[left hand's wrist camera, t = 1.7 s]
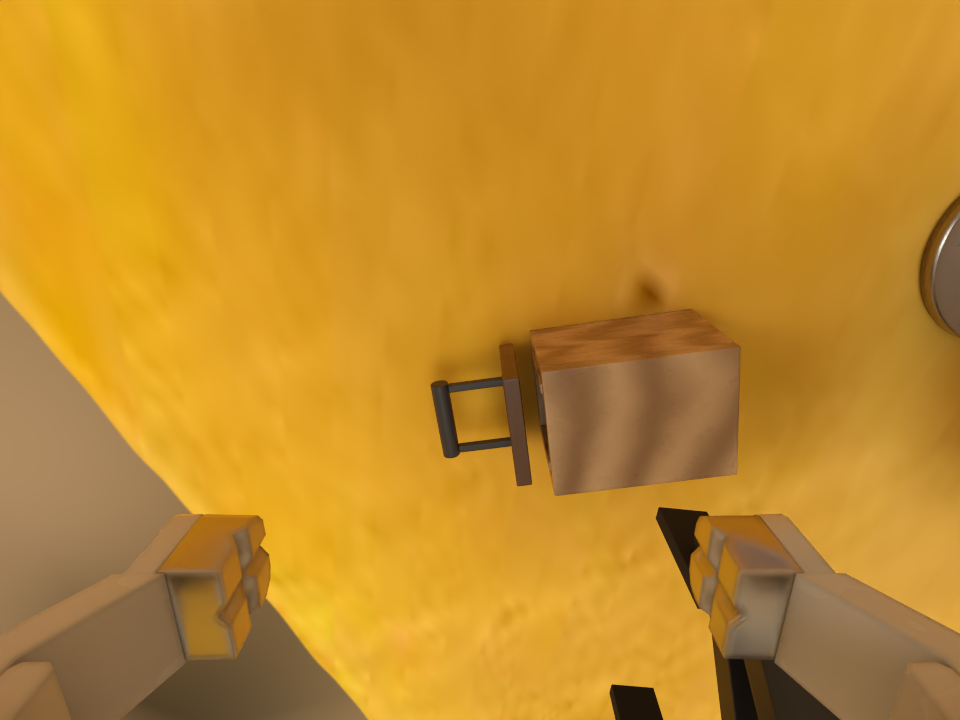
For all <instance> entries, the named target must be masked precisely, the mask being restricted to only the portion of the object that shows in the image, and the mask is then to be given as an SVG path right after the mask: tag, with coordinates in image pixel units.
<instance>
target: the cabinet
mask: <svg viewBox="0 0 960 720" xmlns="http://www.w3.org/2000/svg"><path fill="white" fill-rule="evenodd" d="M530 337H531V346H532V352H534V354H535V358H536V362H537V365H538V369H539V373H540V377H541V382H542V391H543V400H544V409H545V418H546V427H547V436H548V445H549V455H550V464H551V471H550V470H549V472H550V476H551V481H552V485H553V490H554V495H555V496H559V495H567V494H576V493H584V492H592V491H601V490H609V489H618V488H626V487H634V486H643V485H651V484H660V483H668V482H676V481H685V480H693V479H702V478H710V477H718V476H727V475H735V474H737V452H738V416H739V380H740V346H739V345H737V344H736V343H734V341H732V340H731V339H730V338H728V337H727V336H726V335H724V334H723V333H722V332H720V331H719V330H718V329H717V328H715V327H714V326H713V325H711V324H710V323H709V322H707V321H706V320H705V319H703V318H702V317H701V316H700V315H698V314H697V313H696V312H694V311H693V310H692V309H689V310H682V311H674V312H667V313H659V314H652V315H644V316H637V317H629V318H622V319H615V320H607V321H600V322H592V323H585V324H577V325H570V326H562V327H555V328H547V329H540V330H532V331H530ZM543 444H544V443H543ZM545 453H546V452H545ZM546 458H547V457H546ZM548 467H549V466H548Z"/></svg>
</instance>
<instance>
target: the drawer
mask: <svg viewBox="0 0 960 720" xmlns="http://www.w3.org/2000/svg"><path fill="white" fill-rule="evenodd" d="M499 349H500V359H501V369H502V377H496V378H489V379H481V380H473V381H465V382H458V383H450V384H448V382H447V381H443V380H441V381H436V382H433V383H432V384H431V390H432V395H433V401H434V406H435V411H436V417H437V422H438V427H439V433H440V438H441V443H442V449H443V454H444V457H446V458H454V457H457V456H458V455H459V454H460V452H468V451H476V450H484V449H492V448H500V447H508V446H512V452H513V460H514V467H515V474H516V482H517V486H525V485H532V479H531V471H530V463H529V455H528V447H527V439H526V431H525V423H524V415H523V407H522V399H521V391H520V383H519V376H518V370H517V364H516V358H515V353H514V347H513V344H506V345H500V346H499ZM532 360H533V369H534V377H535V386H536V395H537V403H538V412H539V421H540V429H541V434H542V439H543V443H544V448H545V452H546V457H547V462H548V466H549V470H550V471H551V464H550V455H549V445H548V436H547V427H546V418H545V409H544V400H543V391H542V382H541V377H540V373H539V369H538V365H537V362H536V358H535V354H534V352H532ZM497 386H503V387H504V394H505V401H506V408H507V416H508V423H509V430H510V437H507V438H499V439H491V440H483V441H475V442H467V443H459V444H458V439H457V433H456V427H455V421H454V416H453V410H452V404H451V399H450V392H458V391H466V390H474V389H481V388H489V387H497Z"/></svg>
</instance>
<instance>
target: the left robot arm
mask: <svg viewBox="0 0 960 720" xmlns="http://www.w3.org/2000/svg"><path fill="white" fill-rule="evenodd" d="M265 535H266V534H265V529H264V524H263V519H261V518H260V517H259V516H258V515H214V514H206V515H203V514H179V515H176V516H173V517H172V518H171V519H170V520H169V521H168V522H167V524H166V525H165V526H164V527H163V528H162V529H161V531H160V532H159V533H158V534H157V535H156V536H155V538H154V539H153V540H152V541H151V542H150V543H149V545H148V546H147V547H146V548H145V549H144V550H143V552H142V553H141V554H140V555H139V556H138V557H137V559H136V560H135V561H134V562H133V563H132V564H131V566H130V567H129V568H128V569H127V570H126V571H125V573H115V574H113V575H111V576H109V577H107V578H105V579H103V580H102V581H100V582H98V583H96V584H94V585H92V586H90V587H88V588H86V589H84V590H83V591H81V592H79V593H77V594H75V595H73V596H71V597H69V598H67V599H65V600H63V601H61V602H60V603H58V604H56V605H54V606H52V607H50V608H48V609H46V610H44V611H42V612H40V613H39V614H37V615H35V616H33V617H31V618H29V619H27V620H25V621H23V622H21V623H20V624H18V625H16V626H14V627H12V628H10V629H8V630H6V631H4V632H2V633H0V720H120V719H121V718H122V717H123V716H125V715H126V714H127V713H128V712H129V711H130V710H132V709H133V708H134V707H135V706H136V705H137V704H138V703H140V702H141V701H142V700H143V699H144V698H145V697H147V696H148V695H149V694H150V693H151V692H152V691H153V690H155V689H156V688H157V687H158V686H159V685H160V684H162V683H163V682H164V681H165V680H166V679H167V678H169V677H170V676H171V675H172V674H173V673H174V672H176V671H177V670H178V669H179V668H180V667H181V666H182V665H184V664H185V660H204V659H236V657H237V655H238V653H239V651H240V649H241V647H242V645H243V643H244V641H245V639H246V637H247V635H248V633H249V631H250V629H251V622H250V617H249V616H250V615H251V614H253V613H254V612H255V611H257V610H258V609H259V608H261V606H262V604H263V602H264V600H265V597H266V595H267V591H268V587H269V582H270V559H269V554H268V553H267V552H266V551H265V550H264V549H263V548H262V547H261V546H260V544H261V542H262V540H263V538H264V537H265ZM694 535H695V537H696V538H697V540H698V542H699V544H700V546H699V547H698V548H697V549H696V550H695V551H694V552H693V553H692V554H691V560H690V568H689V572H690V583H691V588H692V591H693V595H694V597H695V600H696V602H697V604H698V606H699V608H701V609H702V610H703V611H705V612H706V613H707V614H709V615H710V622H709V629H710V631H711V633H712V635H713V637H714V639H715V641H716V643H717V645H718V647H719V649H720V651H721V653H722V655H723V657H724V659H755V660H775V662H774V663H776V664H777V665H778V666H779V667H780V668H781V669H782V670H784V671H785V672H786V673H787V674H788V675H789V676H791V677H792V678H793V679H794V680H795V681H796V682H797V683H799V684H800V685H801V686H802V687H803V688H804V689H806V690H807V691H808V692H809V693H810V694H811V695H812V696H814V697H815V698H816V699H817V700H818V701H819V702H821V703H822V704H823V705H824V706H825V707H826V708H827V709H829V710H830V711H831V712H832V713H833V714H834V715H836V716H837V717H838V718H839V719H840V720H960V634H959V633H957V632H955V631H954V630H952V629H950V628H948V627H946V626H944V625H942V624H940V623H938V622H936V621H935V620H933V619H931V618H929V617H927V616H925V615H923V614H921V613H919V612H917V611H916V610H914V609H912V608H910V607H908V606H906V605H904V604H902V603H900V602H898V601H896V600H895V599H893V598H891V597H889V596H887V595H885V594H883V593H881V592H879V591H877V590H876V589H874V588H872V587H870V586H868V585H866V584H864V583H862V582H860V581H858V580H857V579H855V578H853V577H851V576H849V575H847V574H845V573H835V571H834V570H833V569H832V568H831V567H830V566H829V564H828V563H827V562H826V561H825V560H824V559H823V557H822V556H821V555H820V554H819V553H818V552H817V550H816V549H815V548H814V547H813V546H812V545H811V543H810V542H809V541H808V540H807V539H806V538H805V536H804V535H803V534H802V533H801V532H800V531H799V529H798V528H797V527H796V526H795V525H794V524H793V522H792V521H791V520H790V519H789V518H788V517H787V516H785V515H783V514H761V515H754V516H700V517H699V519H698V521H697V523H696V528H695V533H694Z"/></svg>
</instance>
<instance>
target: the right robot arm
mask: <svg viewBox="0 0 960 720" xmlns="http://www.w3.org/2000/svg"><path fill="white" fill-rule="evenodd" d="M921 292H922V296H923V300H924V303H925V306H926V308H927V310H928V312H929V314H930V315H931V317H932V318H933V319H934V320H935V322H936V323H937V324H938V325H939V326H940V327H942V328H943V329H944V330H946V331H947V332H949V333H950V334H952V335H954V336H957V337H959V338H960V197H959V198H958V199H957V200H956V202H955V203H954V204H953V205H952V206H951V207H950V208H949V209H948V211H947V212H946V213H945V215H944V216H943V217H942V219H941V220H940V222H939V223H938V225H937V227H936V228H935V230H934V232H933V234H932V236H931V238H930V240H929V242H928V245H927V247H926V250H925V254H924V257H923V262H922V266H921ZM700 516H709V515H708V513H707V512H703V511H693V510H682V509H672V508H661V507H659V509H658V512H657V516H656V520H657V522H658V524H659V526H660V528H661V531H662V533H663V535H664V537H665V539H666V541H667V544H668V546H669V548H670V550H671V552H672V554H673V557H674V559H675V561H676V563H677V565H678V567H679V570H680V572H681V574H682V576H683V578H684V580H685V583H686V585H687V587H688V589H689V591H690V593H691V595H692V598H693V600H694V602H695V604H696V606H697V608H698V609H701V608H699V606H698V604H697V602H696V600H695V597H694V595H693V591H692V588H691V583H690V572H689V568H690V560H691V554H692V553H693V552H694V551H695V550H696V549H697V548H698V547H699V546H700V544H699V542H698V540H697V538H696V537H695V535H694V533H695V528H696V523H697V521H698V519H699V517H700ZM712 640H713V648H714V657H715V666H716V675H717V684H718V692H719V701H720V710H721V719H722V720H840V719H839V718H838V717H837V716H836V715H834V714H833V713H832V712H831V711H830V710H829V709H827V708H826V707H825V706H824V705H823V704H822V703H821V702H819V701H818V700H817V699H816V698H815V697H814V696H812V695H811V694H810V693H809V692H808V691H807V690H806V689H804V688H803V687H802V686H801V685H800V684H799V683H797V682H796V681H795V680H794V679H793V678H792V677H791V676H789V675H788V674H787V673H786V672H785V671H784V670H782V669H781V668H780V667H779V666H778V665H777V664H776V663H774V662H775V660H755V659H724V657H723V655H722V653H721V651H720V649H719V647H718V645H717V643H716V641H715V639H714V637H713V635H712ZM610 697H611V701H612V706H613V710H614V714H615V719H616V720H663V718H662V714H661V711H660V708H659V705H658V702H657V698H656V695H655V692H654V689H653V688H647V687H635V686H623V685H612V686H611V689H610Z"/></svg>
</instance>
